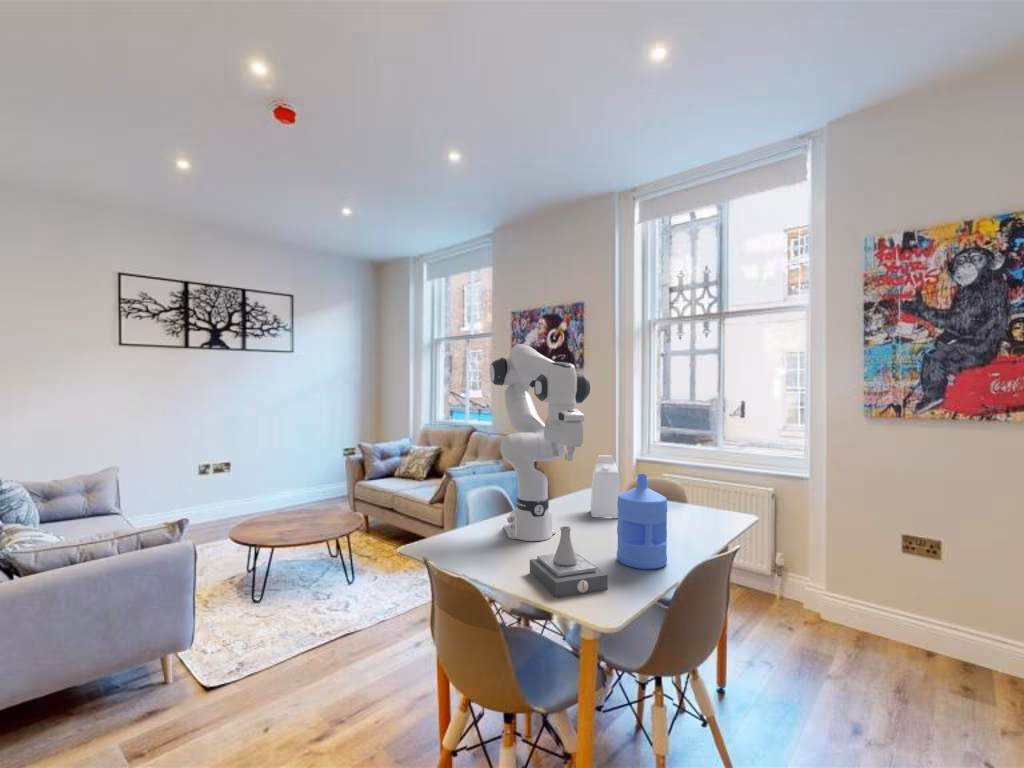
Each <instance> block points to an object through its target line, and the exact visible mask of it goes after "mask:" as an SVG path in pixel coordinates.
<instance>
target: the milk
mask: <svg viewBox="0 0 1024 768" xmlns="http://www.w3.org/2000/svg"><path fill="white" fill-rule="evenodd" d="M591 479H592V480H591V497H590V514H591V518H592V517H612V518H618V508H617V502H618V495H619V494H621V489H620V488H621V486H620V484H621V483H620V472H619V470H618V466H617V463H616V461H615V458H614V456H613V455H598V457H597V459H596V462H595V464H594V466H593V468H592V478H591Z"/></svg>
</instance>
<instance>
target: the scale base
mask: <svg viewBox="0 0 1024 768" xmlns="http://www.w3.org/2000/svg"><path fill="white" fill-rule="evenodd" d="M576 554H577V555H578V556H580V557H581V558H583V559H584V560H586V561H587V562H588V563H590V564H591V565H593V566H594V567H596V571H594V572H587V573H581V574H574V575H567V576H560V577H557V576H556V575H555V574H554V573H553V572H551V571H550V570H549V569H548V568H547V567H545V566H544V565H543V564H542V563H541V562H540V561H538V560H537V558H532V559H529V574H530V575H531V574H532V575H533V576H534V577H535V580H537V581H538V583H540V585H541V586H543V587H544V588H545V589H546V590H547V591H548V592H549V593H550V594H551V595H552V596H553V597H554V598H562V597H568V596H573V595H580V594H587V593H592V592H598V591H605V590H609V589H608V588H609V587H608V585H609V583H608V582H609V580H608V578H609V575H608V574H607V573H606V572H604V571H603V570H601V569H600V568H599V567H597V566H596V565H594V564H593V563H591V562H590V561H588V560H587V559H585V558H584V557H582V556H581V555H579V554H578V553H576ZM532 575H531V576H532ZM533 576H532V577H533ZM534 577H533V578H534Z"/></svg>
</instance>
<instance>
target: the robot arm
mask: <svg viewBox="0 0 1024 768" xmlns="http://www.w3.org/2000/svg"><path fill="white" fill-rule="evenodd" d="M489 377H490V380H491V382H492V384H494V385H495V386H507V387H506V389H505V390H504V403H505V407H506V411H507V415H508V419H509V421H510V425H511V427H512V428H513V429H514V431H516V432H514V433H510V434H506V435H504V437H502V439H501V442H500V444H499V450H500V451H499V452H500V453H501V456H502V458H503V459H504V460H505V461H506V462H507V463H509V464H510V465H511V467H512V468H513V470H514V472H515V474H516V476H517V477H516V479H517V487H518V488H517V495H518V496H517V497H516V504H515V508H514V509H513V510H512V511H511V512H510V514H509V516H507V517H506V518H507V523H505V524H504V525H503V529H504V530H505V533H506V536H507V537H508V538H509V539H512V540H521V541H526V542H527V541H528V542H539V541H547V540H548V539H549V540H550V539H551V537H552V536H553V534H554V535H556V532H557V531H556V530H555V529H553V515H552V511H550V510H549V507H550V506H549V505H550V499H549V498H548V493H549V492H548V491H549V489H548V485H549V484H548V481H549V480H548V478H547V476H546V474H545V473H543V472H541V471H540V470H538V469H536V467H535V462H546V461H547V462H548V461H553V460H557V459H560V458H562V457H563V456H564V455H565V456H564V460H565V461H568V462H573V460H574V459H573V458H574V457H573V456H574V453H575V450H576V448H577V447H578V448H580V447H582V445H583V442H584V424H583V422H584V421H585V415H584V413H582V412H581V411H580V410H579V409H578V408H577V407H578V406H577V404H582V403H583V402H584V401H585V400H586V399H587V398H588V397H589V396H590V393H591V384H590V381H589V379H588V377H586V376H585V374H583V373H582V372H581V373H580V372H577V371H576V367H575V365H574V364H573V363H570V362H564V361H554V360H553V359H550V358H548V357H547V356H545V355H543V354H541V353H540V352H538V351H537V350H536V349H535V348H533V347H531V346H530V345H527V344H524V343H523V344H522V343H518V344H516V345H514V346H513V347H512V348H511V349H510V351H509V354H508V357H505V358H504V357H499V358H498V359H496V360H494V361H492V363H490V367H489ZM530 388H532V389H534V391H533V392H534V396H536V398H537V399H538V400H539V401H540V402H544V403H548V405H547V416H546V417H547V418H546V419H545V421H543V420H542V419H541V418H540V416H539V414H538V412H537V409H536V407H535V403H534V401H533V399H532V396H531V394H530V391H529V389H530ZM566 450H567V451H566ZM564 453H565V454H564Z"/></svg>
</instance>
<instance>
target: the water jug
mask: <svg viewBox="0 0 1024 768" xmlns="http://www.w3.org/2000/svg"><path fill="white" fill-rule="evenodd" d="M647 478H648V474H646V473H645V474H644V473H637V479H636V482H637V484H636V487H634V488H630V489H628V490H626V491H623V492H620V494H619V495H618V502H617V508H618V519H617V526H616V531H617V532H616V534H617V550H616V558H617V560H618V562H620V563H621V564H622V565H624V566H627V567H630V568H633V569H639V570H656V569H657V570H658V569H661V568H663V567H665V566H666V564H667V562H668V556H667V555H668V554H667V551H668V550H667V543H668V542H667V541H668V540H667V537H668V528H667V522H668V518H667V517H668V516H667V515H668V500H667V497H666V496H665V495H662V494H661V493H659V492H657V491H655V490H652V489H651V488H649V487H648V479H647Z"/></svg>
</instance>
